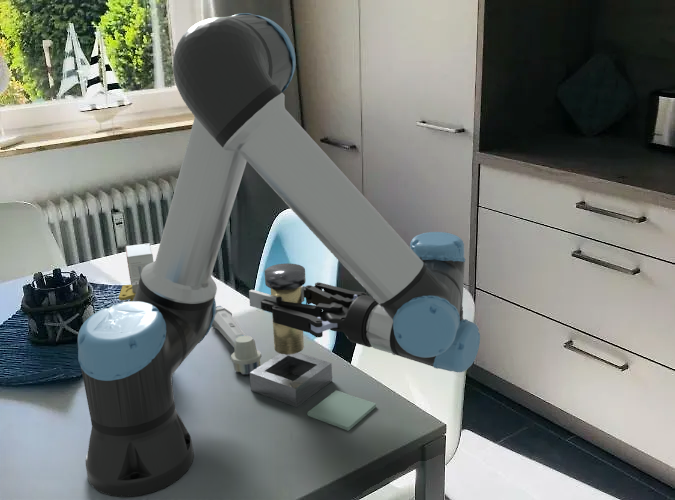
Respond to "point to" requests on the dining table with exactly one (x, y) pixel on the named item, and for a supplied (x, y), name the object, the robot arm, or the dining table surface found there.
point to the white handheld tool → (237, 342)
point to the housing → (291, 392)
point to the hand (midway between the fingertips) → (262, 292)
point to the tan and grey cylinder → (288, 286)
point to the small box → (138, 259)
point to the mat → (341, 410)
